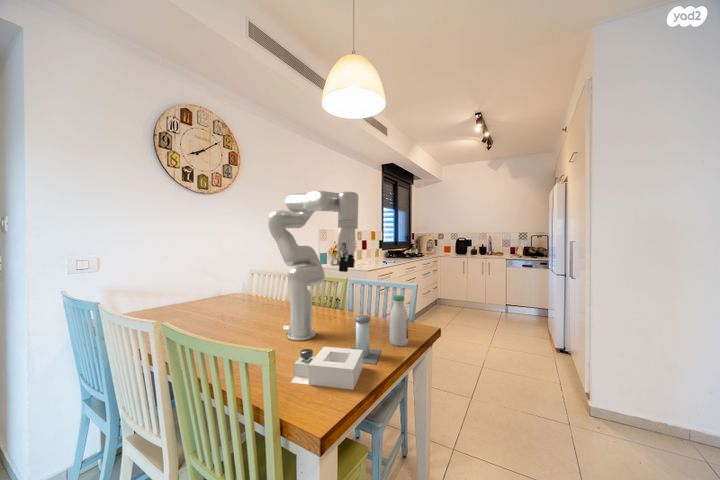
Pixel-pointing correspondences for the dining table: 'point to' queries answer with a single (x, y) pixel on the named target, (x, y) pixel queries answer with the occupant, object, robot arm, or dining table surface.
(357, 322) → the cartridge
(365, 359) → the mat
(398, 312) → the milk bottle
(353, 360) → the housing
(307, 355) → the plunger
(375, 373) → the dining table surface
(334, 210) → the robot arm
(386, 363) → the dining table surface
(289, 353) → the dining table surface
